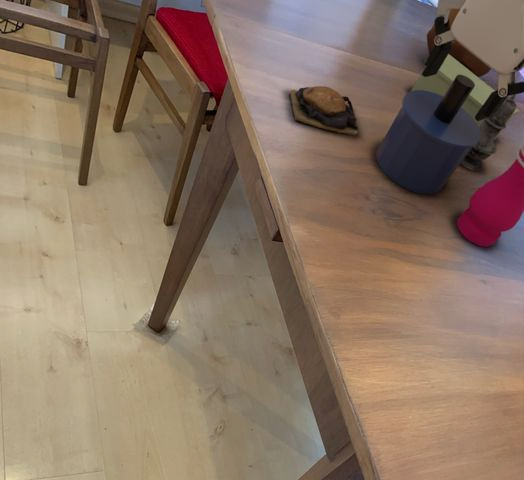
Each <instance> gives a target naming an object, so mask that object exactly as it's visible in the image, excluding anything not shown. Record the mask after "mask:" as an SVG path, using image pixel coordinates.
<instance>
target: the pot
mask: <svg viewBox="0 0 524 480" xmlns="http://www.w3.org/2000/svg"><path fill="white" fill-rule="evenodd" d="M387 130H388V131H387V132H386V134H385V136H384V138H383V139H382V141H381V143H380V145H379V147H378V148H377V150H376V154H375V156H376V157H375V158H376V161H377V164H378V165H379V168H380V169H381V171H382V172H383V173H384V174H385V176H387V177H388V178H389V179H390V180H391V181H392V182H394V183H395V184H396V185H398V186H400V187H402V188H403V189H406V190H408V191H409V192H413V193H415V194H421V195H433V194H435V193H438V192H440V191H441V190H442V189H443V188H444V187H445V185H446V184H447V182H448V181H449V180H450V178H451V177H452V176H453V174H454V173H455V171H456V170H457V169H458V167H459V166H460V165H461V164H460V163H461V162H462V160H463V159H464V157H465V156H466V155H467V153H468V152H469V151H470V149H471V148H472V147H471V148H467V149H461V148H454V147H450V146H447V145H444V144H442V143H440V142H437V141H436V140H434V139H432V138H430V137H429V136H427V135H426V134H424V133H423V132H421V131H420V130H419V129H418V128H417V127H416V126H414V125H413V124H412V122H411V121H410V120H409V119H408V118H407V116H406V114H405V113H404V110H403V107H402V106H401V107H400V109H399V111H398V113H397V115H396V116H395V118H394V120H393V122H392V123H391V125H390V127H389V128H388V129H387Z"/></svg>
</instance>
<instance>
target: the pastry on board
mask: <svg viewBox="0 0 524 480" xmlns="http://www.w3.org/2000/svg"><path fill="white" fill-rule="evenodd" d="M289 95H290V101H291V106H292V111H293V115H294V120H295V121H299V122H302V123H304V124H306V125H310V126H313V127H317V128H319V129H324V130H325V131H326V130H327V131H331V132H337V134H340V133H342V134H347V135H350V136H357V135H358V133H359V131H358V129H359V127H358V126H357V124H356V121H357V118H356V116H355V111H354V108H353V104H352V101H351V100H350V98H349V96H346V95H344V96H342V95H341V94H340V93H339V92H338V91H337V90H335V89H333V88H331V87H329V86H326V85H325V86H324V85H323V86H322V85H321V86H320V85H319V86H318V85H317V86H306V87H300V88H299V89H298V90H296V89H291V90H290V91H289Z"/></svg>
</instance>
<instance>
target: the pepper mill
mask: <svg viewBox="0 0 524 480" xmlns="http://www.w3.org/2000/svg"><path fill="white" fill-rule="evenodd" d="M515 156H516V158H515V160H514V161H513V163H512V164H511V165H510V166H509V167H508V168H507V169H506V170H505V171H504V172H502V173H501V174H500V175H498V176H497V177H494V178H493V179H492V180H490V181H488V182H486V183H484V184H483V185H481V186H480V187H479V188H477V190H476V191H475V192H474V193H473V194H472V195H471V197H470V199H469V202H468V208H466V209H464V211H463V212H462V213H461V214H460V215H459V217H458V218H457V221H456V224H457V228H458V230H459V232H460V233H461V235H462V236H463V237H464V238H465V239H466V240H467V241H469V242H471V243H472V244H474V245H477V246H479V247H483V248H489V247H492V246H493V245H494V244H495V243H496V242H497V241H498V240H499V239H500V238H501V236H502V233H503V232H509V231H510V230H512V229H514V227H516V226H517V224H518V223H519V222H520V220H521V217H522V216H523V214H524V144H523V145H522V146H521V148H520V149H519V150H518V151H517V152H516V155H515Z"/></svg>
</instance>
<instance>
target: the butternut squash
mask: <svg viewBox="0 0 524 480" xmlns="http://www.w3.org/2000/svg"><path fill="white" fill-rule="evenodd" d="M459 11H460V9H451V10H450V12H449V15H448V18H449V25H450V30H451V26H452V24H453V22H454V20H455V18H456V16H457V14H458V13H459ZM435 37H436V33H435V24H434V23H433V25H432V27H431V28H430V29H429V30H428V32H427V33H426V42H427V49H428V56H429V55H430V53H431V51H432V50H433V48H434V46H435V43H434V39H435ZM450 45H451V46H452V47H451V51H450V52H449V55H451V56H452V57H453V58H454V59H456V60H457V61H458V62H459V63H461V64H462V65H463V66H464V67H466V68H467V69H468V70H469V71H471V72H472V73H473V74H474V75H476V76H477V77H478V78H481V77H483V76H485V75H487V74H489V72H491V70H492V69H491V68H490V67H488V66H487V65H486V64H485V63H483V62H482V61H481V60H480V59H478V58H477V57H476V56H475V55H473V54H472V53H471V52H470V51H468V50H467V49H466V48H465V47H463V46H462V45H461V44H460V43H459V42H457V41H454V42H451V44H450Z"/></svg>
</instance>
